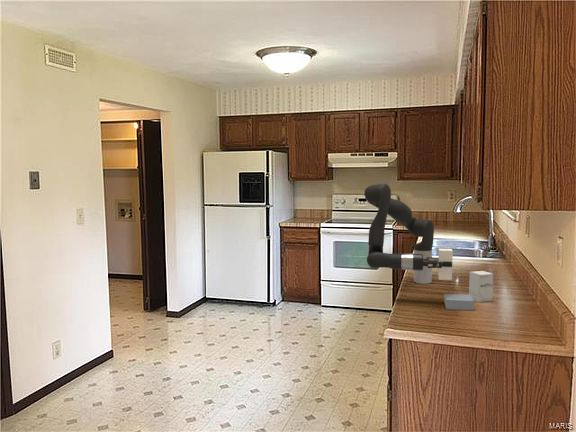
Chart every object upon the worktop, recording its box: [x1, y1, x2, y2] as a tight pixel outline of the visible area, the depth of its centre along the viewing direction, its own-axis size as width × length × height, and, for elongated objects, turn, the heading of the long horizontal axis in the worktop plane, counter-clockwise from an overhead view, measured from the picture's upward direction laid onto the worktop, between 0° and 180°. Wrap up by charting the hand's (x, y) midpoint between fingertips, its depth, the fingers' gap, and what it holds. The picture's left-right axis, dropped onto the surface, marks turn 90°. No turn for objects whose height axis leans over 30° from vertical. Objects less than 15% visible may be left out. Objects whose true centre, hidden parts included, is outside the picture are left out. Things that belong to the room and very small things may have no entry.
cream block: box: [437, 248, 454, 281], centre depth 214 cm, size 6×6×13 cm
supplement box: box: [468, 270, 494, 303], centre depth 219 cm, size 7×7×13 cm
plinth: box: [443, 293, 475, 311], centre depth 210 cm, size 11×11×4 cm
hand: (451, 263), depth 214 cm, fingers closed on cream block, 5 cm apart
